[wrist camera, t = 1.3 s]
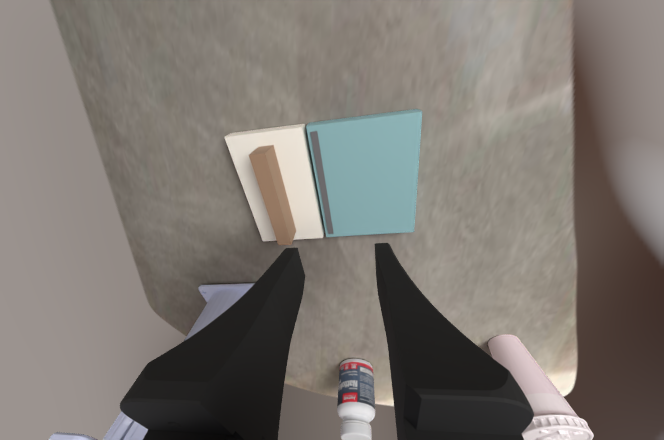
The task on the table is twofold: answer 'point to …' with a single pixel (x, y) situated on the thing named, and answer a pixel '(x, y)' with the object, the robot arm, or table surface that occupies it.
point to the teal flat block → (367, 172)
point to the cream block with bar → (278, 182)
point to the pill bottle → (356, 399)
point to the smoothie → (538, 394)
